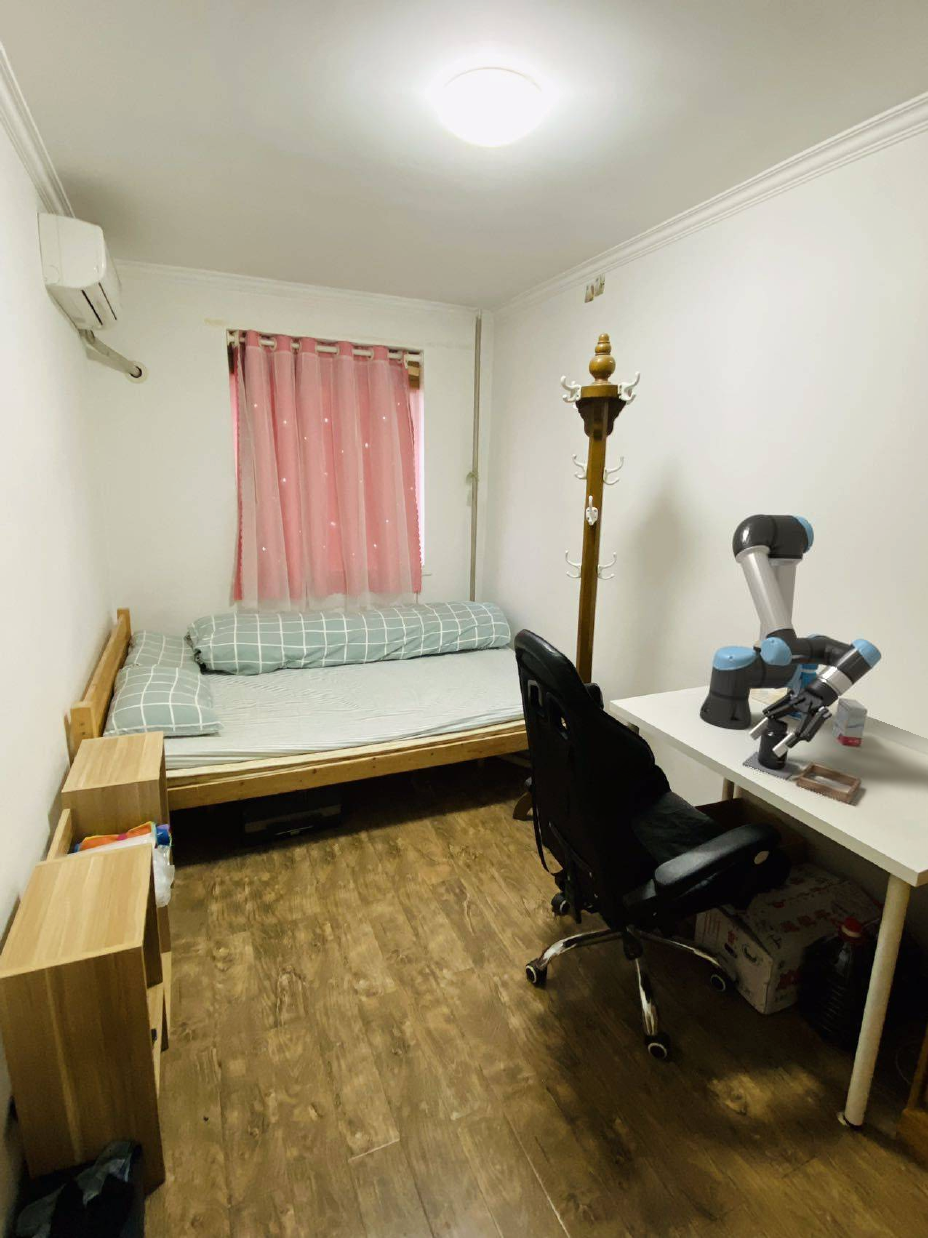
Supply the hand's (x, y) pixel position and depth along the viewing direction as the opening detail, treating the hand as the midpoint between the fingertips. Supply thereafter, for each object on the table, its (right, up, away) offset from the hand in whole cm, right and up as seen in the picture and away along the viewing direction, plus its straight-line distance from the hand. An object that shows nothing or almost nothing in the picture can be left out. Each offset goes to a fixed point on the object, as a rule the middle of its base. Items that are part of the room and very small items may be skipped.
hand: (763, 744), depth 160 cm
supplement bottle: (+3, -6, +2) cm, 7 cm away
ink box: (+35, -3, +21) cm, 41 cm away
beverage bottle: (+30, +1, +38) cm, 48 cm away
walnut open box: (+12, -9, -8) cm, 17 cm away
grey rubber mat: (+3, -6, +2) cm, 7 cm away
